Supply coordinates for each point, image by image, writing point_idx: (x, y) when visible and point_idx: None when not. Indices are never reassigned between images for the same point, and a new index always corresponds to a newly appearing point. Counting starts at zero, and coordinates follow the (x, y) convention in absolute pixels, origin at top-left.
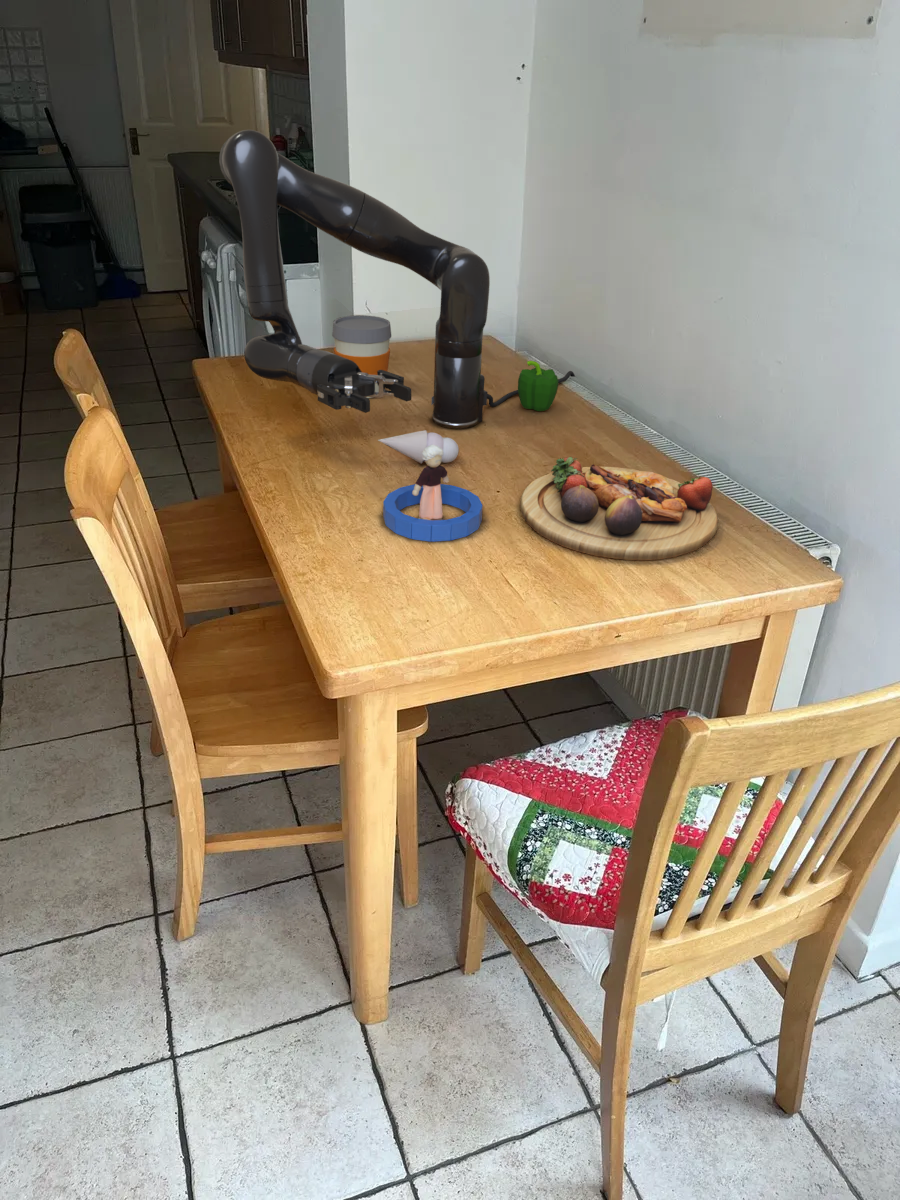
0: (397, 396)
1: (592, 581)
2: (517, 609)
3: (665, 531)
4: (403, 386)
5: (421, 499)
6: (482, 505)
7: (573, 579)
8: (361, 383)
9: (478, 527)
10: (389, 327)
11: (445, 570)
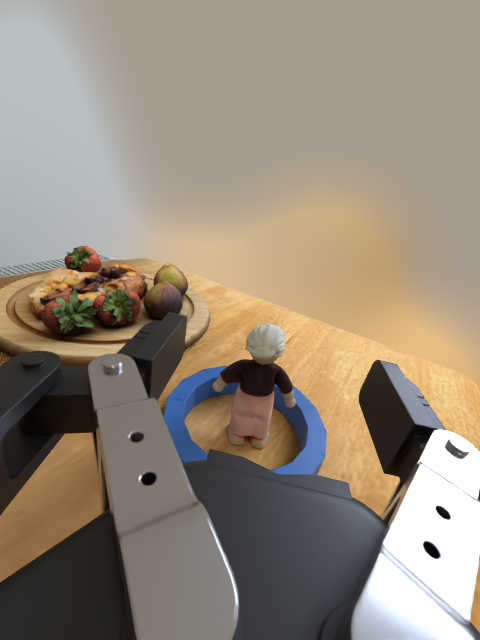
0: (160, 390)
1: (238, 312)
2: (309, 331)
3: (150, 283)
4: (171, 325)
5: (271, 411)
6: (204, 369)
7: (245, 318)
8: (290, 498)
9: None
10: None
11: (320, 376)
